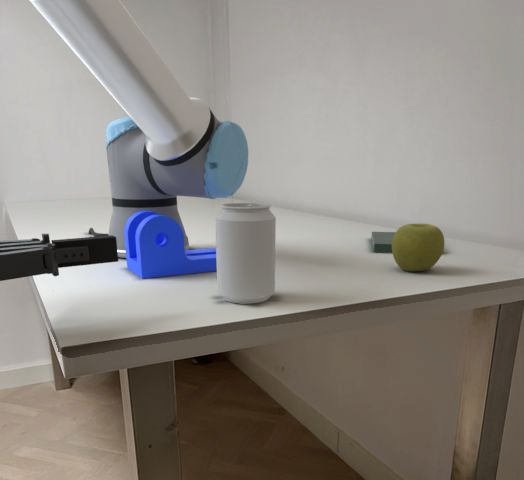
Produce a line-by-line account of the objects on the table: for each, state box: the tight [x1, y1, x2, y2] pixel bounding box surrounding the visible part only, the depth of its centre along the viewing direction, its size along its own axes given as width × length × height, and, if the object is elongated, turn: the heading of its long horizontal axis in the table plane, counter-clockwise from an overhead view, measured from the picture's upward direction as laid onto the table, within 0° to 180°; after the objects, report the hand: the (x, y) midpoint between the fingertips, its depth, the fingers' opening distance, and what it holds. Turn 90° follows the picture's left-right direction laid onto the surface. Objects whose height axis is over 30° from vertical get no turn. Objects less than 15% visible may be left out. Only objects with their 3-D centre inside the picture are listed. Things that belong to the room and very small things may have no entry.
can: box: [214, 202, 277, 305], centre depth 70 cm, size 8×8×12 cm
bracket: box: [124, 211, 217, 280], centre depth 89 cm, size 18×8×9 cm, turn 118°
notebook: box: [370, 231, 396, 254], centre depth 110 cm, size 12×16×2 cm
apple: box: [392, 223, 445, 272], centre depth 87 cm, size 8×8×7 cm
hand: (115, 248), depth 62 cm, fingers closed
